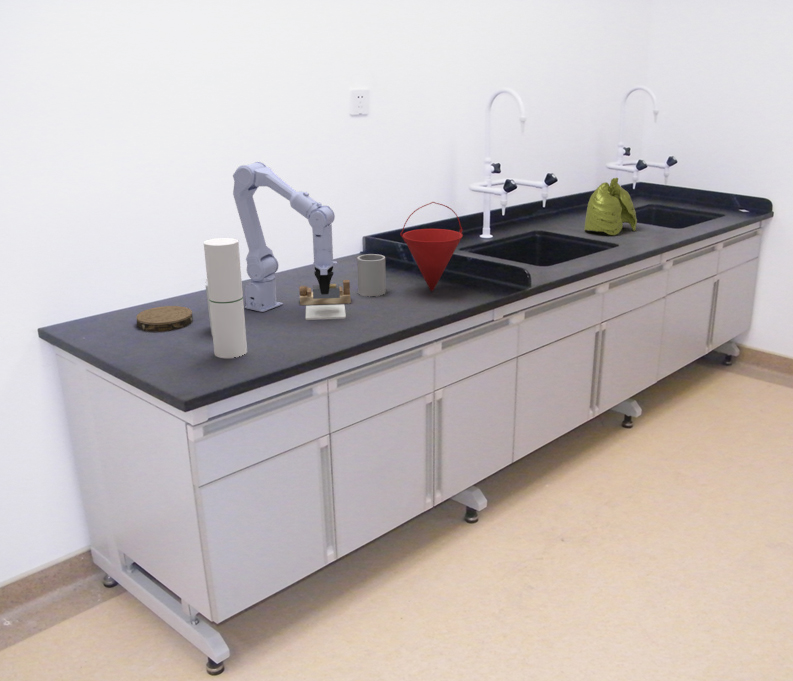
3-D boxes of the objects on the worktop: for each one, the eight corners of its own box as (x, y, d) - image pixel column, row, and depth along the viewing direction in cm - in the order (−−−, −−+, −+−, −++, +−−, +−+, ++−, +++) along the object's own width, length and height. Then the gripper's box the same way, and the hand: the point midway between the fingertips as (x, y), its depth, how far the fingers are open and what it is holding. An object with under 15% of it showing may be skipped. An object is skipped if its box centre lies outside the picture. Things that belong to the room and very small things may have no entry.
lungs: (606, 238, 326) (611, 181, 317) (578, 232, 337) (582, 177, 329) (642, 230, 340) (648, 176, 331) (614, 225, 351) (619, 172, 343)
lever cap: (313, 298, 228) (312, 286, 227) (313, 294, 232) (312, 283, 231) (339, 297, 229) (339, 286, 228) (339, 294, 233) (339, 282, 231)
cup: (353, 294, 250) (352, 259, 246) (366, 287, 258) (365, 253, 254) (377, 298, 247) (377, 262, 242) (390, 290, 254) (389, 255, 250)
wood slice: (164, 312, 235) (163, 303, 234) (204, 319, 228) (203, 310, 227) (125, 327, 222) (124, 318, 221) (166, 336, 215) (165, 326, 214)
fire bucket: (450, 280, 265) (452, 194, 255) (473, 296, 248) (475, 204, 237) (392, 286, 259) (391, 198, 249) (410, 302, 242) (410, 208, 231)
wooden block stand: (299, 305, 240) (298, 285, 238) (300, 299, 246) (299, 280, 243) (350, 303, 241) (350, 283, 239) (349, 297, 247) (349, 278, 245)
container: (218, 346, 206) (208, 237, 195) (250, 346, 205) (241, 237, 195) (210, 358, 198) (199, 245, 187) (243, 358, 197) (234, 245, 187)
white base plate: (305, 320, 226) (305, 318, 226) (306, 307, 237) (306, 305, 237) (345, 318, 227) (345, 316, 227) (344, 306, 238) (344, 304, 238)
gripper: (336, 253, 219) (338, 298, 224) (335, 242, 232) (337, 284, 237) (312, 254, 218) (314, 299, 223) (312, 242, 232) (314, 285, 236)
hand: (324, 291), depth 230 cm, fingers closed on lever cap, 4 cm apart
